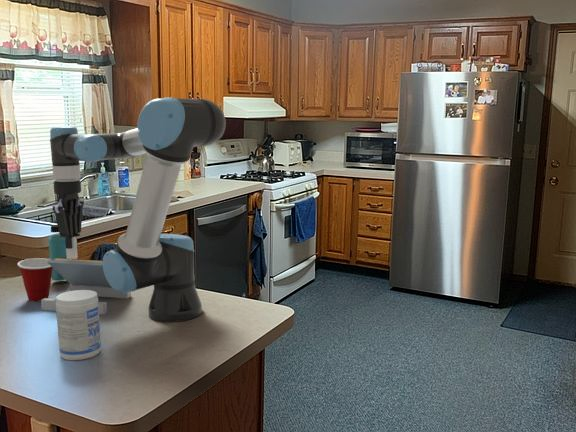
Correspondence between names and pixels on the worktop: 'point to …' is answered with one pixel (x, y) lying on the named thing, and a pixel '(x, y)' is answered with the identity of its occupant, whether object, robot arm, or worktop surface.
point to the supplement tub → (78, 324)
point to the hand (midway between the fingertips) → (72, 258)
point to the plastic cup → (36, 277)
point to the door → (81, 271)
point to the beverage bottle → (57, 251)
